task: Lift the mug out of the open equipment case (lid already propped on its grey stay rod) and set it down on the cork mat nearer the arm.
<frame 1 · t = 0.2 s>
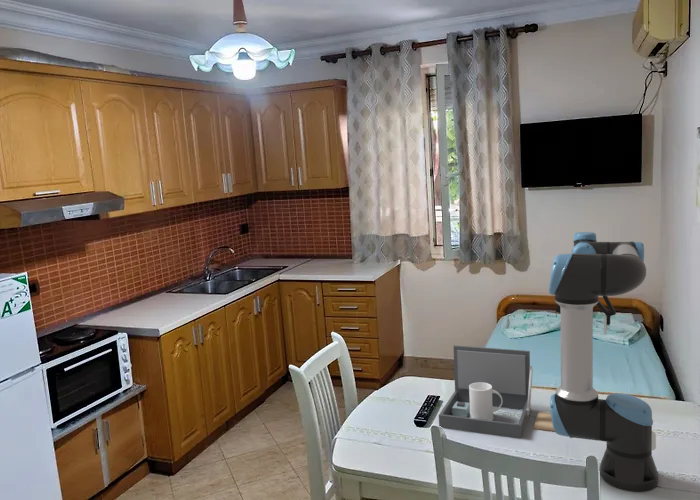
hand: (585, 332, 212), 28 cm above the table, fingers open, 13 cm apart
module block: (461, 415, 214), resting in case
mug: (486, 418, 210), resting in case
case: (485, 418, 210), on the table
mat: (556, 423, 203), on the table
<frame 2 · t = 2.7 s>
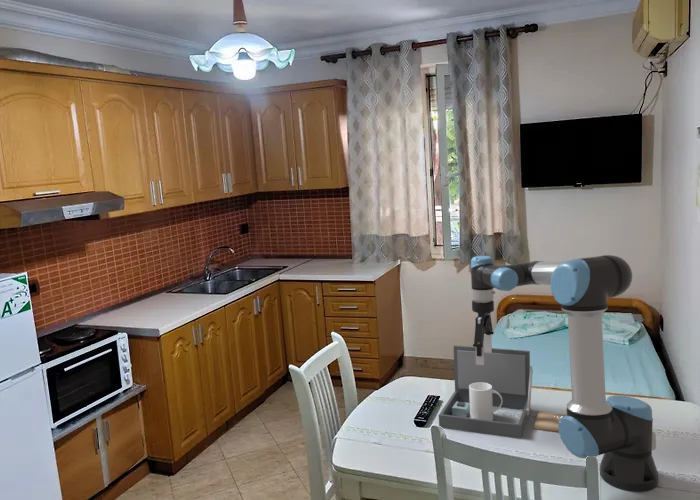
hand: (484, 358, 207), 22 cm above the table, fingers open, 13 cm apart
nothing on the table moved.
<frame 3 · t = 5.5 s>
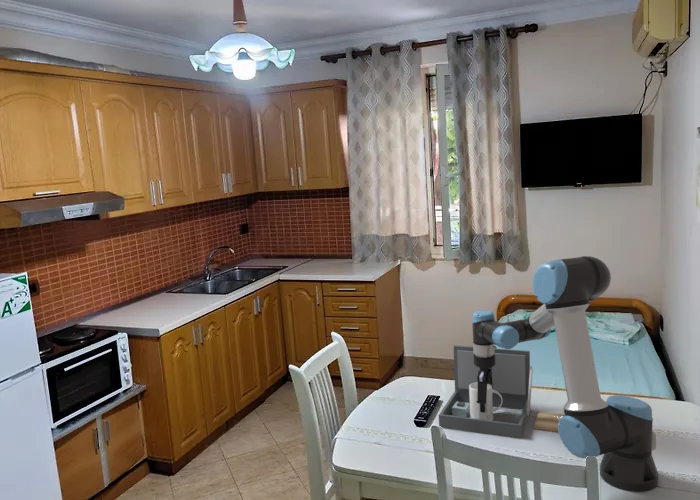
hand: (485, 414, 210), 1 cm above the table, fingers closed on mug, 8 cm apart
mug: (486, 418, 210), resting in case, touching gripper
everything else where it was.
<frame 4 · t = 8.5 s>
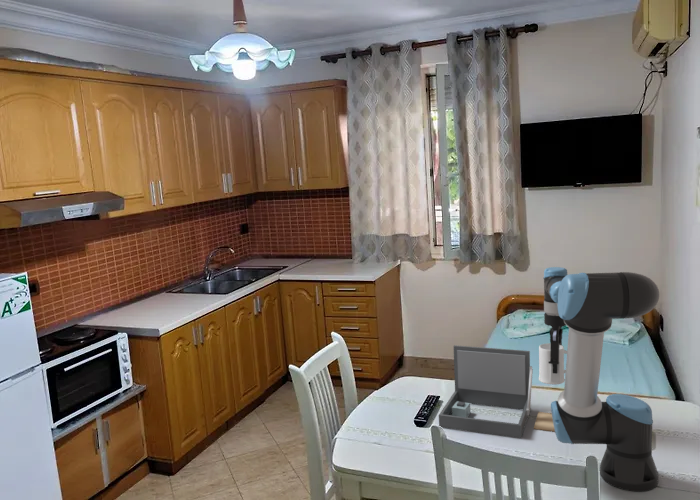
hand: (556, 377, 200), 17 cm above the table, fingers closed on mug, 8 cm apart
mug: (556, 381, 201), point 15 cm above the table, touching gripper
everything else where it was.
when the fingers open (3 cm above the table, at t = 11.7 s): mug drops 1 cm, resting on mat.
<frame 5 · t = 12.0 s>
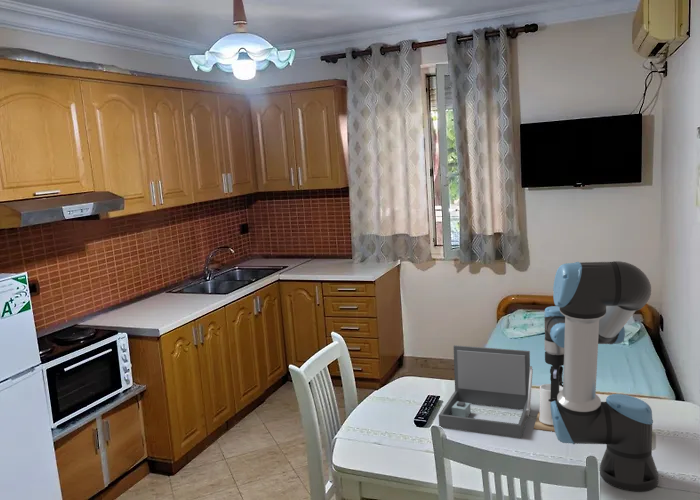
hand: (556, 412, 202), 4 cm above the table, fingers open, 11 cm apart
mug: (556, 422, 203), resting on mat
everything else where it was.
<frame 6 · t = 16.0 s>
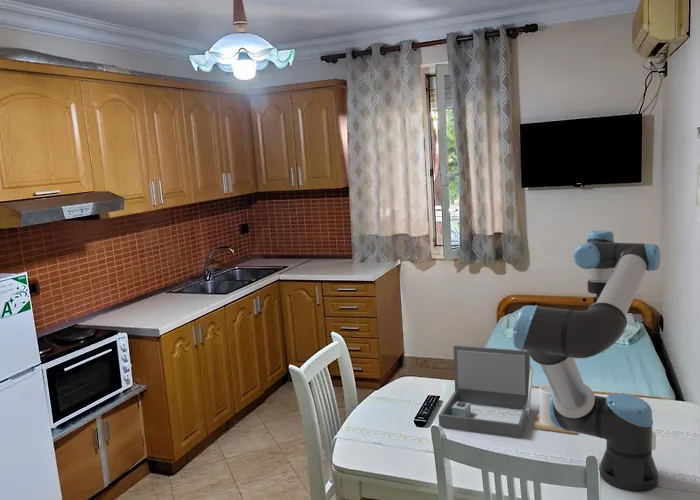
hand: (600, 345, 185), 32 cm above the table, fingers open, 13 cm apart
nothing on the table moved.
at the end: mug inside the target area on the mat (0.1 cm from its centre), point 0.2 cm above the mat's base; mug tilted 0°; the gripper is holding nothing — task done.
